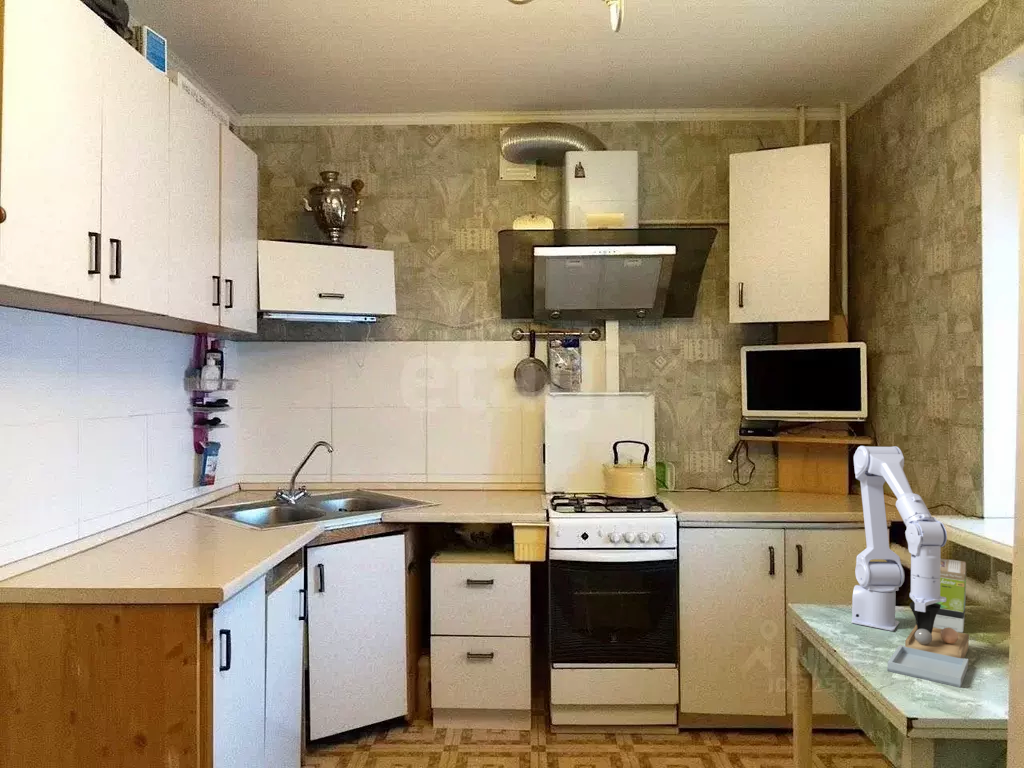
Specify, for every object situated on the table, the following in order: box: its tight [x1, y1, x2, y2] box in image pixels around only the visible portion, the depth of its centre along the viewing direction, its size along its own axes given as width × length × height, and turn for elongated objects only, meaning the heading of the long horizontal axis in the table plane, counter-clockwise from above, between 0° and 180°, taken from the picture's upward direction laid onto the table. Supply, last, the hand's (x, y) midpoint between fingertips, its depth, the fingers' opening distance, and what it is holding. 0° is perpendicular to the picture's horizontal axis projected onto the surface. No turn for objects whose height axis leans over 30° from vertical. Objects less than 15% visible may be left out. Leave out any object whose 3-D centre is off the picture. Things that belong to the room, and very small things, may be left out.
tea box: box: [933, 558, 967, 633], centre depth 185 cm, size 15×10×15 cm, turn 148°
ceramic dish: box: [887, 644, 969, 688], centre depth 153 cm, size 13×13×2 cm
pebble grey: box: [915, 629, 932, 645], centre depth 161 cm, size 3×3×3 cm
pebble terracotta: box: [940, 628, 958, 644], centre depth 162 cm, size 3×3×3 cm
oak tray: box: [904, 623, 970, 659], centre depth 163 cm, size 10×14×3 cm
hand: (924, 636), depth 162 cm, fingers closed, pressing on pebble grey
